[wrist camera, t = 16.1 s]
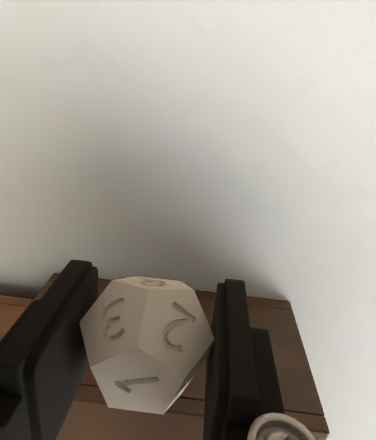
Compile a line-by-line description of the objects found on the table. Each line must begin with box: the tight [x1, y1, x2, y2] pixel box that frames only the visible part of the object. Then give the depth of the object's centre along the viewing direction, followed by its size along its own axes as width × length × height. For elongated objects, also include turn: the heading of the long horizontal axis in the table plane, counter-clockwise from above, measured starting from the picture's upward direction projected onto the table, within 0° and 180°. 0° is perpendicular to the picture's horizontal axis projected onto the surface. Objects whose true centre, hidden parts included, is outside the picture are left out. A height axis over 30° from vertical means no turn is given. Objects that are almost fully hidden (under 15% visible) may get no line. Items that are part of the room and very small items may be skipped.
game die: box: [80, 276, 214, 415], centre depth 9 cm, size 4×4×3 cm
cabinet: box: [33, 273, 329, 440], centre depth 21 cm, size 16×14×9 cm
